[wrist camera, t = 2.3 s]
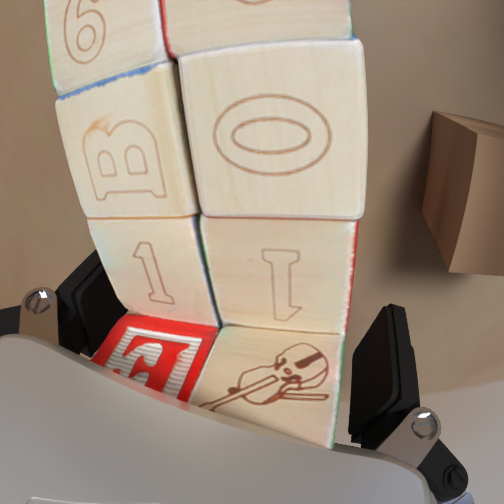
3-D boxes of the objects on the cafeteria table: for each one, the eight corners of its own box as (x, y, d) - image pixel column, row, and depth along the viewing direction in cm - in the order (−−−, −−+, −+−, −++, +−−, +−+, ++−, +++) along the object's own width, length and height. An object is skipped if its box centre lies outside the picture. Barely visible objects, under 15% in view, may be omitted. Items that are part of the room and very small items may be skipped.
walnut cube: (518, 130, 10) (578, 163, 6) (501, 221, 12) (542, 278, 8) (432, 110, 11) (477, 133, 7) (421, 211, 14) (448, 271, 10)
